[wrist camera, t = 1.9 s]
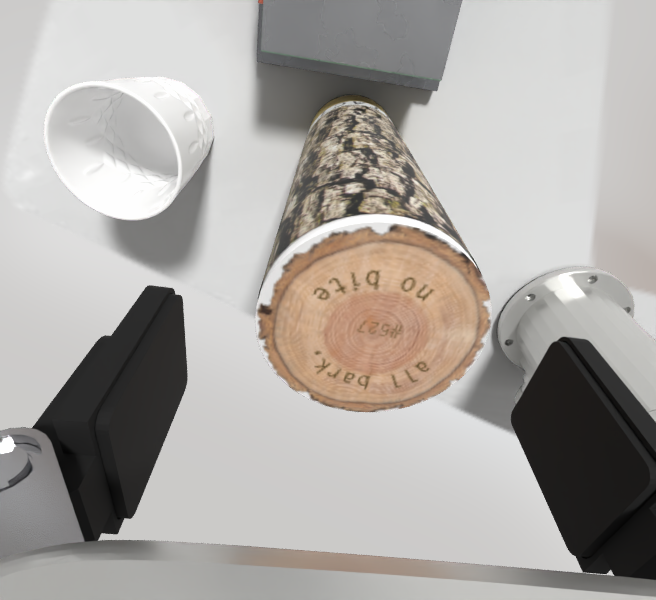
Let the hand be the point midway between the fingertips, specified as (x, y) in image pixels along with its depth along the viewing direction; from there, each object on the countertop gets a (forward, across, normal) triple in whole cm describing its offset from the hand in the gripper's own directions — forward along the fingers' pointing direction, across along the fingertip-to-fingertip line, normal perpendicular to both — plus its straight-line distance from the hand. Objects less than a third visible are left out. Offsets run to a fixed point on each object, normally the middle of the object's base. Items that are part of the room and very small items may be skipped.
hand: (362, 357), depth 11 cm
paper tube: (+27, -1, 0) cm, 27 cm away
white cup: (+27, +13, +1) cm, 30 cm away
